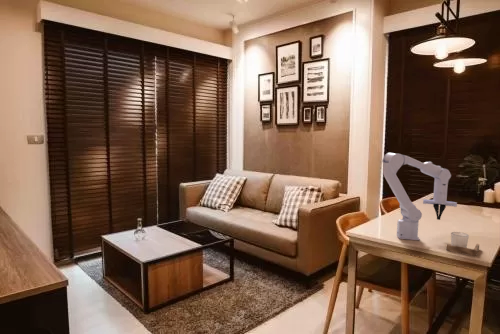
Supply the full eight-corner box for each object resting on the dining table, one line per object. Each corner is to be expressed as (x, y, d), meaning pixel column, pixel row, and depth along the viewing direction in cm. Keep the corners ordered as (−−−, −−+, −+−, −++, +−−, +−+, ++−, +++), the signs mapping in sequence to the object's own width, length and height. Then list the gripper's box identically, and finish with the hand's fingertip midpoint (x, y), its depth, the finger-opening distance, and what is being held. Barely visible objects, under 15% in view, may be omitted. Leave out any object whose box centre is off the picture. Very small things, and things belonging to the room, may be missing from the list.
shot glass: (463, 252, 147) (464, 237, 147) (447, 248, 153) (448, 233, 152) (470, 249, 151) (471, 234, 150) (454, 245, 157) (455, 230, 156)
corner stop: (493, 256, 143) (494, 250, 143) (459, 257, 142) (459, 251, 142) (477, 248, 152) (478, 243, 152) (445, 249, 151) (445, 244, 151)
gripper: (423, 192, 166) (421, 219, 167) (458, 195, 159) (455, 223, 160) (424, 190, 172) (422, 216, 174) (457, 192, 165) (455, 219, 167)
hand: (438, 219), depth 167 cm, fingers closed
